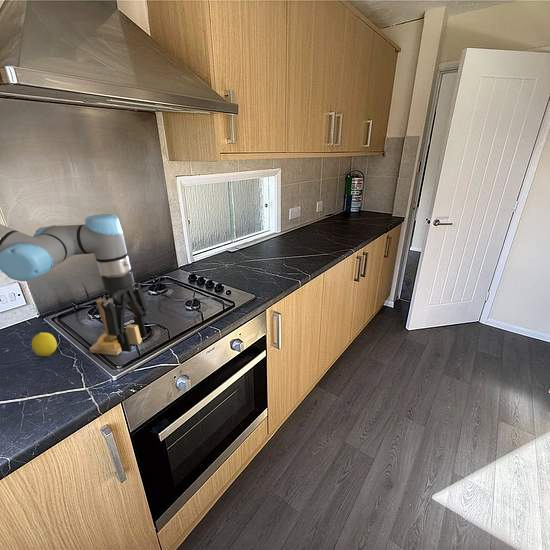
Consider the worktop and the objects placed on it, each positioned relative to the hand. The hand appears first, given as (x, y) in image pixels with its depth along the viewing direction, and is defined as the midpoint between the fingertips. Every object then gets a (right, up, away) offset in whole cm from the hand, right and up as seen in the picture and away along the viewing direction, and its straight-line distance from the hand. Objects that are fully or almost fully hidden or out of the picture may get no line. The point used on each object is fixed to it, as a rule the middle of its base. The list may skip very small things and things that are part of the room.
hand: (134, 342), depth 88 cm
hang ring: (-5, 0, +1) cm, 5 cm away
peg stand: (-7, -1, +2) cm, 8 cm away
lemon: (-24, -4, -2) cm, 25 cm away
